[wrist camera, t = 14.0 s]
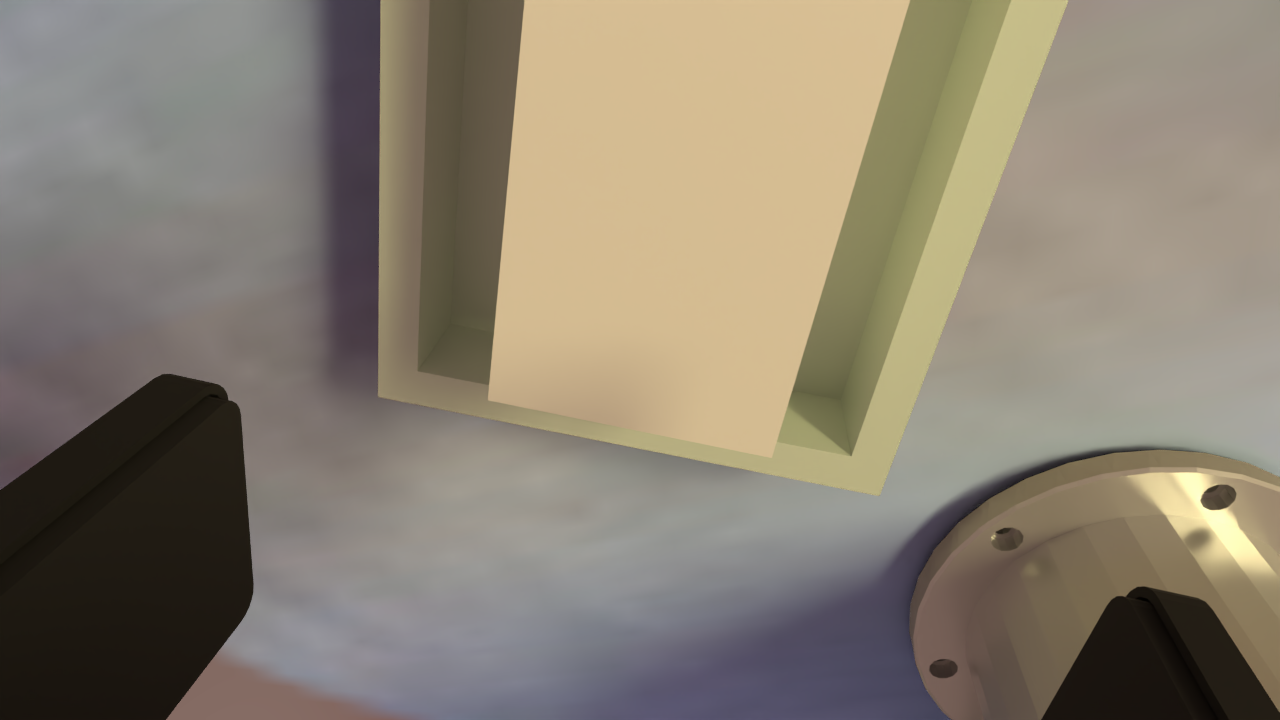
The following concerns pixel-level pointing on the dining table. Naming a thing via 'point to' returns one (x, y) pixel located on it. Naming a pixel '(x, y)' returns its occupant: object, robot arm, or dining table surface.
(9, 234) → the dining table surface
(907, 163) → the tray
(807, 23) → the tan cardboard box
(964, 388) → the dining table surface
